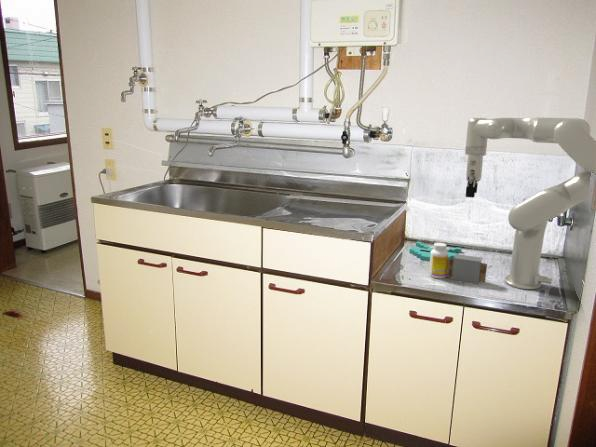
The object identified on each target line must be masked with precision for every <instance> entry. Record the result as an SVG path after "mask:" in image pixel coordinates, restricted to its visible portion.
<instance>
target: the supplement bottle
mask: <svg viewBox="0 0 596 447" xmlns="http://www.w3.org/2000/svg"><path fill="white" fill-rule="evenodd" d="M433 248H434V249H433V250H432V251H431V254H430V261H429V268H428V275H429V276H430V277H431V278H434V279H444V278H446V273H447V262H448V252H447V251H446V249H447V244H446V243H444V242H434V244H433Z"/></svg>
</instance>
